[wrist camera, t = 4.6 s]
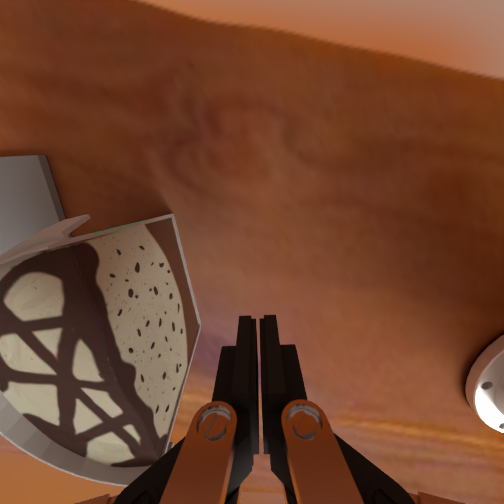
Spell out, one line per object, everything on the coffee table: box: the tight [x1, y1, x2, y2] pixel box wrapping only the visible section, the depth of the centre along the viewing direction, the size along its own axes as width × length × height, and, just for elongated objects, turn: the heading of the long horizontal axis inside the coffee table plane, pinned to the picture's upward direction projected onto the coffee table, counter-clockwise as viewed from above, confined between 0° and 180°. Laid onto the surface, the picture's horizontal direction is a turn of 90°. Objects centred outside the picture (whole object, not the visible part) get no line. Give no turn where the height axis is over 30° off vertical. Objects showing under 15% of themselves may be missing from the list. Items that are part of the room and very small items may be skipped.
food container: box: [0, 213, 202, 486], centre depth 14 cm, size 12×6×10 cm, turn 8°
